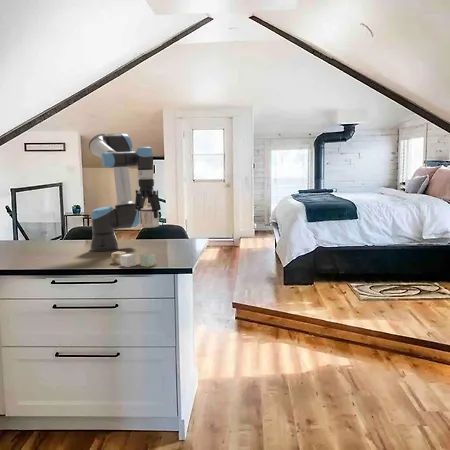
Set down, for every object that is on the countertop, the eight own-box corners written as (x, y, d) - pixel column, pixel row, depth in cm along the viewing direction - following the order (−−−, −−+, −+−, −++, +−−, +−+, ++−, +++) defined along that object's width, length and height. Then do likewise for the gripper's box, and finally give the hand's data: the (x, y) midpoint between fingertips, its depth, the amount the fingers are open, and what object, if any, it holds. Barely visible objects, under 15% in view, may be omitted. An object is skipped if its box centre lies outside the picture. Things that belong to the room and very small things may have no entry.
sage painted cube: (140, 265, 243) (139, 255, 242) (148, 263, 246) (147, 253, 246) (147, 266, 239) (147, 256, 239) (155, 264, 243) (155, 254, 243)
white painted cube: (121, 265, 244) (120, 255, 243) (129, 263, 247) (129, 253, 247) (127, 267, 240) (126, 256, 240) (136, 265, 244) (135, 254, 243)
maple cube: (111, 263, 250) (111, 253, 249) (118, 261, 254) (118, 251, 254) (120, 264, 248) (119, 253, 247) (126, 262, 252) (126, 252, 251)
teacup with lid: (147, 224, 264) (145, 202, 262) (162, 225, 261) (161, 202, 259) (134, 228, 253) (133, 204, 251) (151, 228, 249) (150, 204, 248)
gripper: (125, 178, 257) (128, 223, 260) (155, 179, 244) (158, 226, 247) (136, 178, 263) (139, 221, 266) (166, 178, 250) (169, 224, 253)
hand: (148, 224), depth 257 cm, fingers closed on teacup with lid, 8 cm apart
